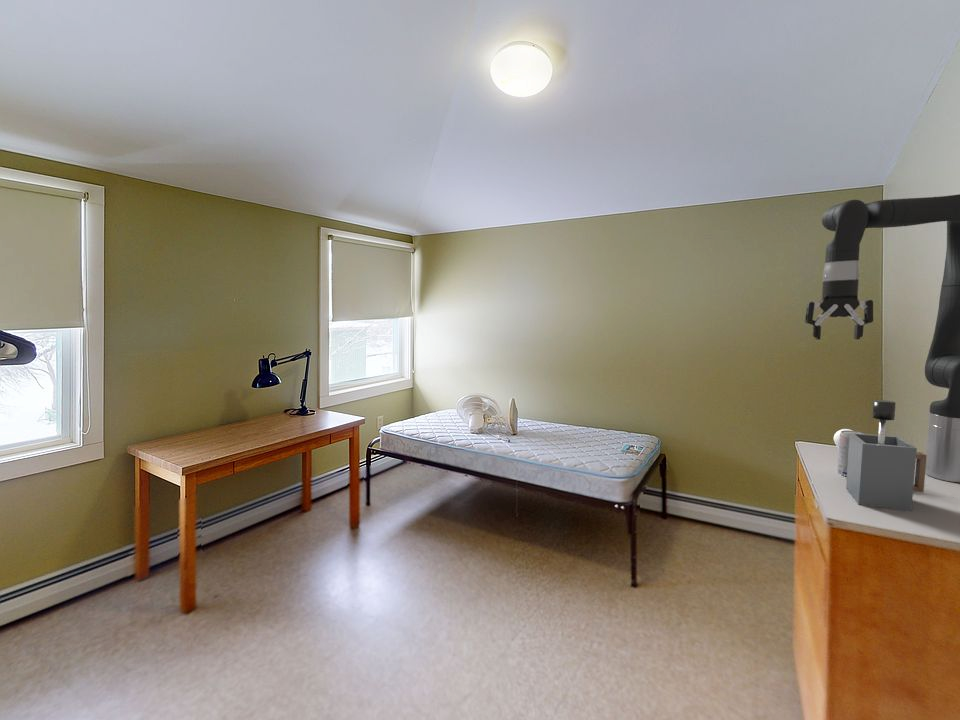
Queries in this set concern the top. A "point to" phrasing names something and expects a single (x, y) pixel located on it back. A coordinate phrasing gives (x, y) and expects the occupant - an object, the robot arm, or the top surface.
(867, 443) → the grey square mug
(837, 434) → the lightbulb
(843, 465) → the energy drink
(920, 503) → the top surface
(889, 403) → the plunger
